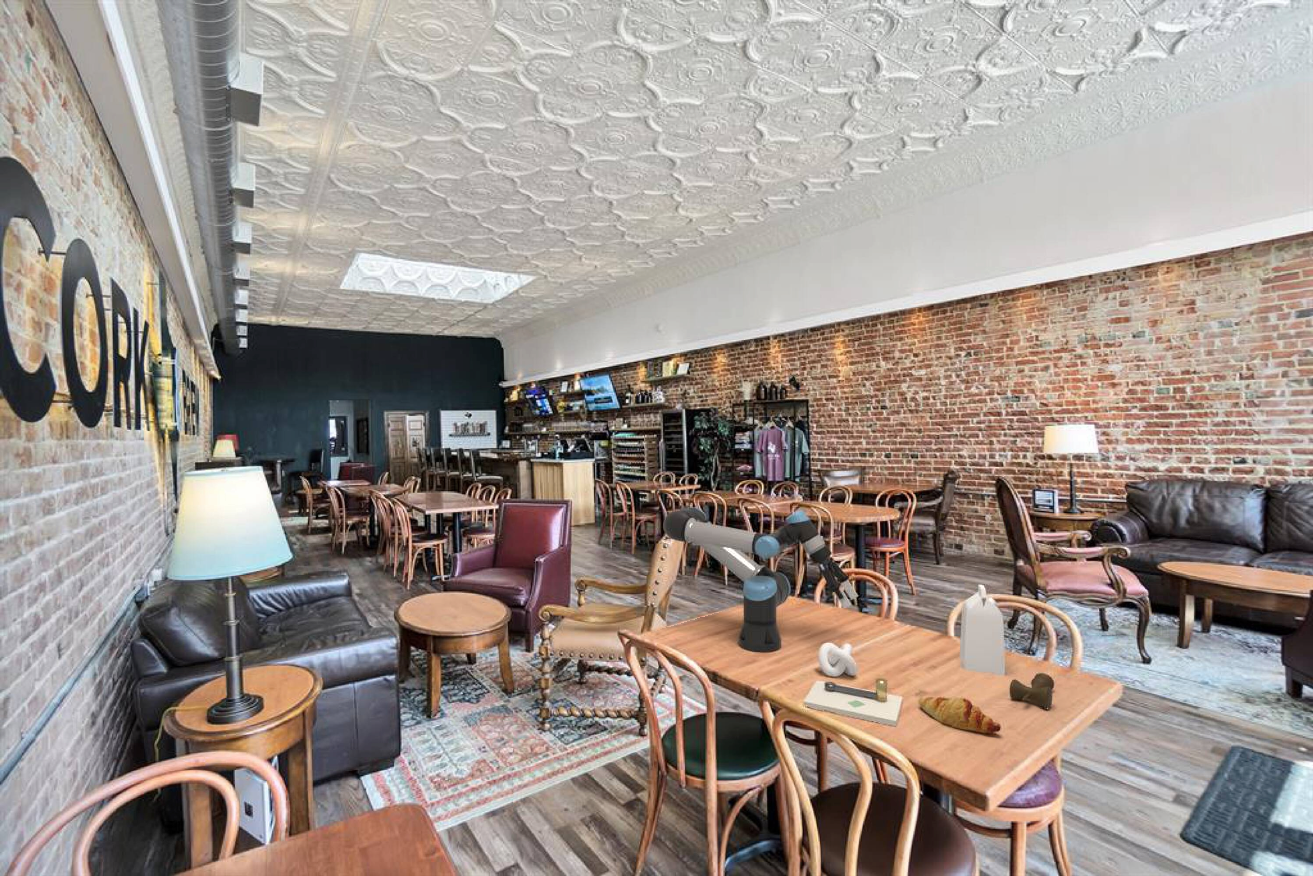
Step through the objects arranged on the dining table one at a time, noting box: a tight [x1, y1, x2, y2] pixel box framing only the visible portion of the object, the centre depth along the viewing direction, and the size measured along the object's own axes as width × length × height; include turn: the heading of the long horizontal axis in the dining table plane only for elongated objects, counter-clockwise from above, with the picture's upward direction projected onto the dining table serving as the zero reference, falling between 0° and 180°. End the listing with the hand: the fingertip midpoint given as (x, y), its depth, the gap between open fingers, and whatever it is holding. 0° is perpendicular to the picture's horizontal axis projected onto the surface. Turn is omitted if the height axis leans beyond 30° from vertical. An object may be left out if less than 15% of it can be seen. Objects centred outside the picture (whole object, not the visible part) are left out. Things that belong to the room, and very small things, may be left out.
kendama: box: [1009, 672, 1055, 710], centre depth 170 cm, size 6×10×20 cm
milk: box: [959, 584, 1006, 677], centre depth 194 cm, size 12×12×26 cm
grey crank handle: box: [824, 677, 888, 701], centre depth 169 cm, size 17×3×5 cm, turn 62°
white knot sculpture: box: [817, 642, 858, 678], centre depth 189 cm, size 11×12×9 cm
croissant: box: [918, 696, 1001, 734], centre depth 157 cm, size 21×10×8 cm, turn 40°
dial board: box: [803, 680, 904, 727], centre depth 167 cm, size 24×16×2 cm, turn 62°
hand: (851, 602), depth 211 cm, fingers open, 13 cm apart
